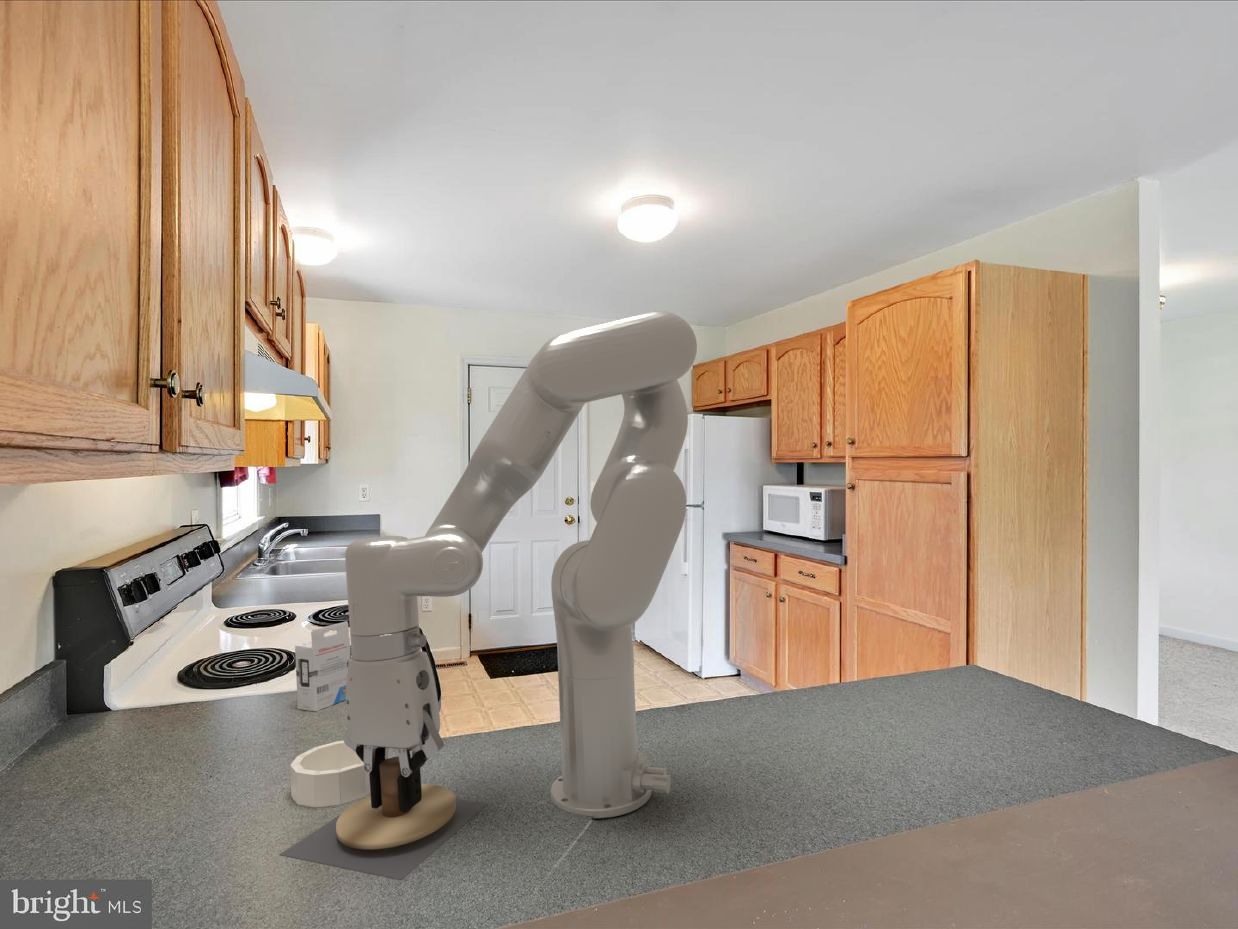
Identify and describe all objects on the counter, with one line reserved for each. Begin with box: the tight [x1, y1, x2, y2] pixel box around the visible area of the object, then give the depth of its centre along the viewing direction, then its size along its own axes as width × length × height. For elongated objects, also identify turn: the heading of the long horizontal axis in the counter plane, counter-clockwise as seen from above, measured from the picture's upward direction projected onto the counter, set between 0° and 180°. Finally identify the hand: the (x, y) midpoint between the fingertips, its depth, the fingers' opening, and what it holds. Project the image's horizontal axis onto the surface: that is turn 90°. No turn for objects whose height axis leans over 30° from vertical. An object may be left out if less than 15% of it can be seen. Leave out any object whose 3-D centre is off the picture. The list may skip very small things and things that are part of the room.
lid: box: [336, 755, 456, 849], centre depth 76 cm, size 13×13×6 cm
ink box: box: [294, 620, 351, 712], centre depth 124 cm, size 8×5×15 cm, turn 152°
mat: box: [278, 798, 489, 881], centre depth 76 cm, size 16×16×1 cm
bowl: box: [289, 740, 371, 808], centre depth 88 cm, size 11×11×4 cm
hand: (396, 803), depth 76 cm, fingers closed on lid, 3 cm apart
